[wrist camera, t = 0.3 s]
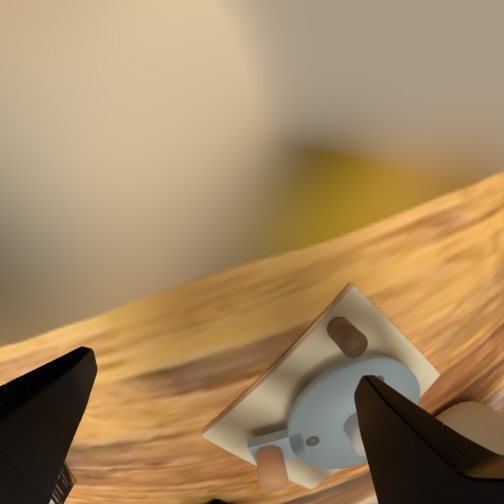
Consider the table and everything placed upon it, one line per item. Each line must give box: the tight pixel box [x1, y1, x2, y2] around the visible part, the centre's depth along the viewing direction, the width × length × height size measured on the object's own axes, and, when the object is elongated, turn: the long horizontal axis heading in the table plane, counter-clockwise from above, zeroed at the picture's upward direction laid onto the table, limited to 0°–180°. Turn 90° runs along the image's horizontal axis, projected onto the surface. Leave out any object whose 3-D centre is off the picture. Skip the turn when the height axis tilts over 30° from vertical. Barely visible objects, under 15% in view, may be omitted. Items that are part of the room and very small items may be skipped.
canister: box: [435, 401, 504, 455], centre depth 17 cm, size 18×18×21 cm
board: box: [201, 283, 440, 489], centre depth 23 cm, size 20×16×5 cm
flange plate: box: [247, 355, 420, 491], centre depth 20 cm, size 16×13×5 cm
